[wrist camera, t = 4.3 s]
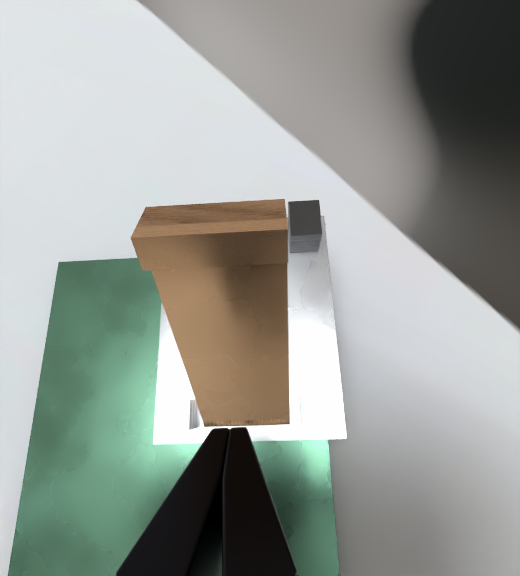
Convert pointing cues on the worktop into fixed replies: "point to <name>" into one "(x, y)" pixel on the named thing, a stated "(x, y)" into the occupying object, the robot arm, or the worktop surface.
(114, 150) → the worktop surface
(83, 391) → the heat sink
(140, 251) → the tan flat bar
